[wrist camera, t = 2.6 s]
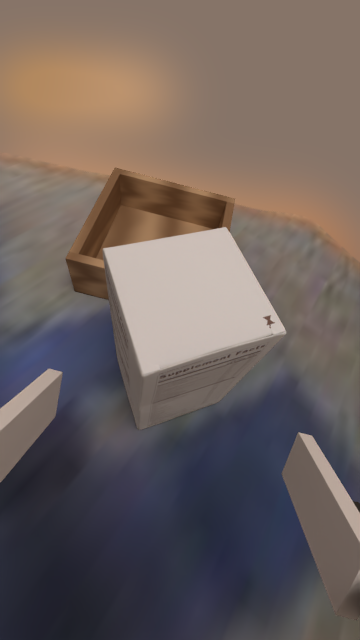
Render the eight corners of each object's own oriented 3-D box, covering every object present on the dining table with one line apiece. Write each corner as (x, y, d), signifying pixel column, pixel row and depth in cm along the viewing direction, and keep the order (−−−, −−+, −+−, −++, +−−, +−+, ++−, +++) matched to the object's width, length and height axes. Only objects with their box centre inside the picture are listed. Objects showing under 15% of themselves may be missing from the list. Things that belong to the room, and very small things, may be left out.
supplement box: (191, 329, 36) (231, 222, 22) (221, 402, 32) (295, 331, 18) (112, 350, 33) (98, 243, 19) (135, 432, 29) (139, 378, 15)
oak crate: (74, 291, 36) (65, 258, 31) (116, 204, 45) (114, 167, 40) (206, 324, 37) (218, 297, 32) (223, 232, 45) (235, 198, 40)
